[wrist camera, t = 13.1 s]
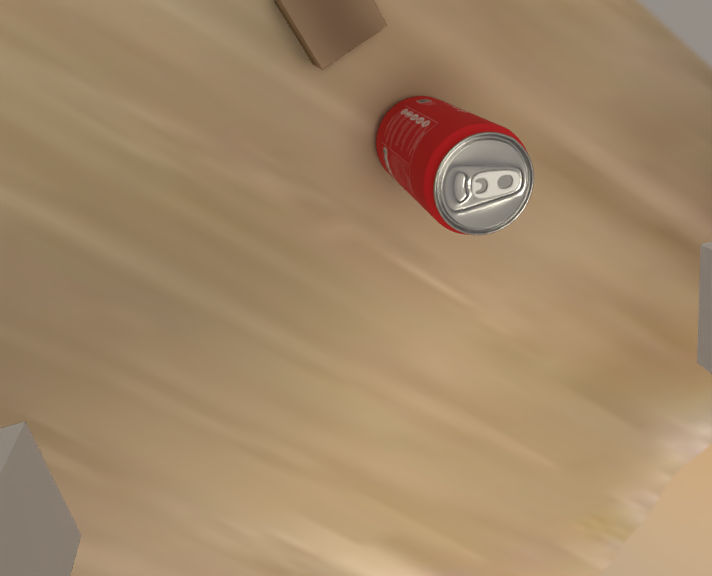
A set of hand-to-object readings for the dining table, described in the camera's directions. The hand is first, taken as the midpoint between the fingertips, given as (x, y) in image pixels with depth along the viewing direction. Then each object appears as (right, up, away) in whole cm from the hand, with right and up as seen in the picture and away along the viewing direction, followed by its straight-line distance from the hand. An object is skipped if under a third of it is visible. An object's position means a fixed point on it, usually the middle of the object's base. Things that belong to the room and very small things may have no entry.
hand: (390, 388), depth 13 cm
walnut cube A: (-2, +17, +24) cm, 30 cm away
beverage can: (+3, +11, +28) cm, 30 cm away
